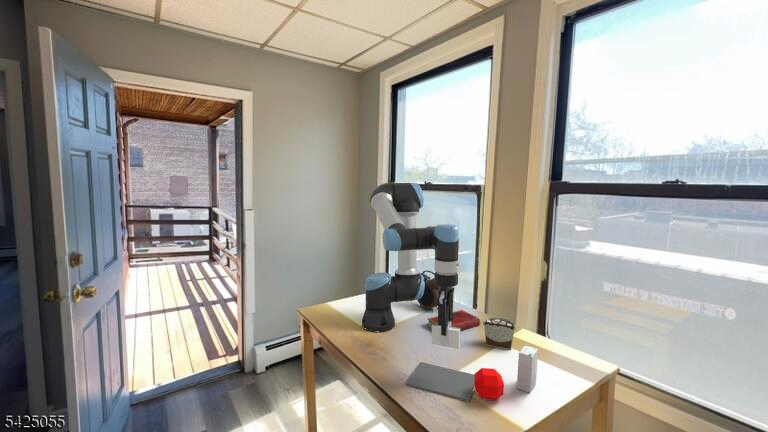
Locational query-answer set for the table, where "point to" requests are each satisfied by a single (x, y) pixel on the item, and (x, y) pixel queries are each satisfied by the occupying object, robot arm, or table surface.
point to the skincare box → (527, 368)
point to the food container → (499, 332)
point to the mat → (443, 381)
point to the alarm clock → (429, 292)
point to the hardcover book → (459, 320)
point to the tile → (453, 336)
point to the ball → (489, 384)
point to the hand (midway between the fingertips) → (445, 341)
